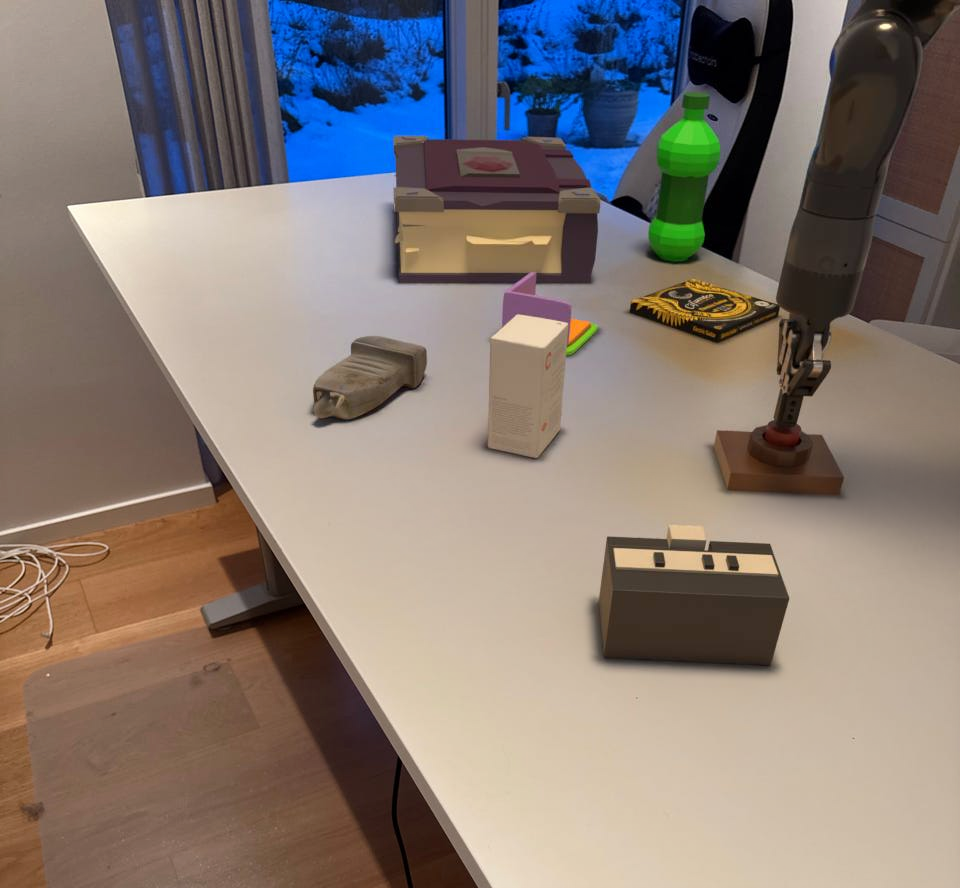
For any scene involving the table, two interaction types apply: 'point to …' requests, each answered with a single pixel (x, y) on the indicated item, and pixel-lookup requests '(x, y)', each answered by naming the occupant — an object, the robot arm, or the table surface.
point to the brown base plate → (776, 464)
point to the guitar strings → (705, 310)
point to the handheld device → (368, 376)
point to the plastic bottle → (684, 181)
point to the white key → (686, 537)
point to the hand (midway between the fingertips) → (784, 423)
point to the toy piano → (691, 601)
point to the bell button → (782, 435)
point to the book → (492, 211)
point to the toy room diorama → (545, 311)
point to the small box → (526, 384)
